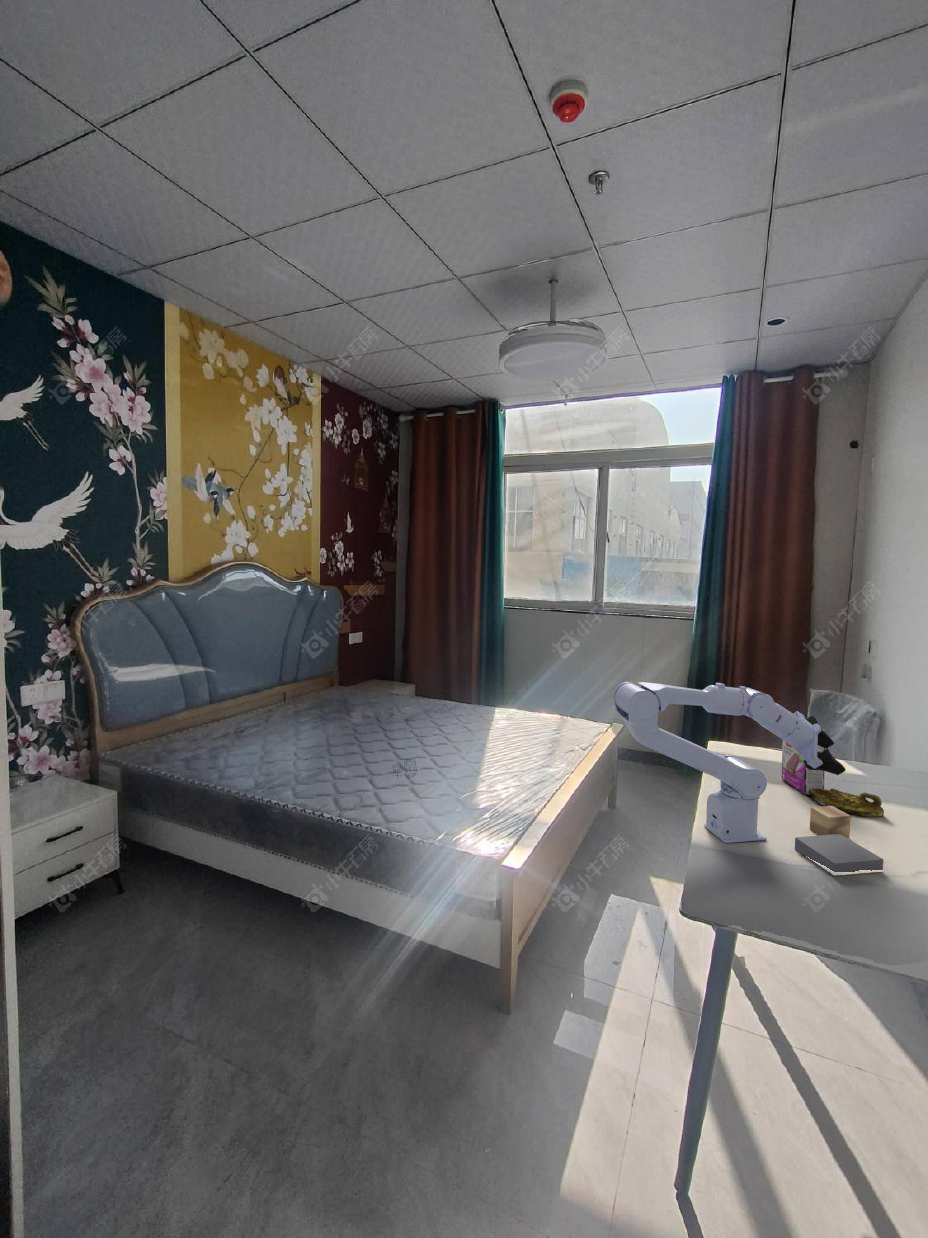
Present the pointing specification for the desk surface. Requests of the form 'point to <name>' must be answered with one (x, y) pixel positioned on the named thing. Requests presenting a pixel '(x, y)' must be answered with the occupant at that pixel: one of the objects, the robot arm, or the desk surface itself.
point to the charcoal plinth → (838, 853)
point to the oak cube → (829, 821)
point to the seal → (849, 802)
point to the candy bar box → (800, 770)
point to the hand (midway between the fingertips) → (835, 758)
